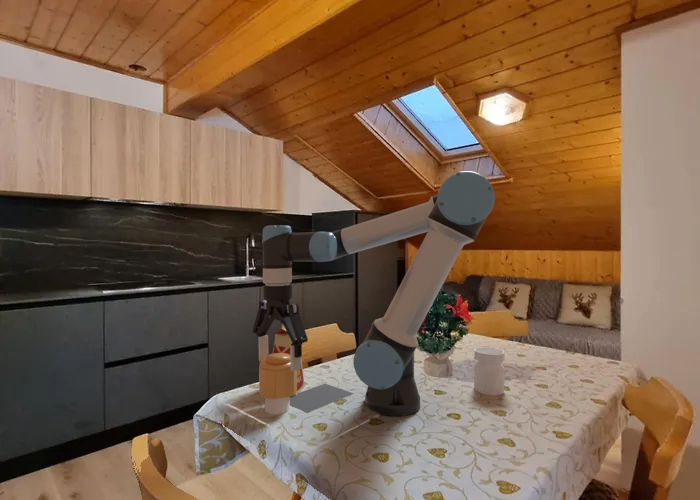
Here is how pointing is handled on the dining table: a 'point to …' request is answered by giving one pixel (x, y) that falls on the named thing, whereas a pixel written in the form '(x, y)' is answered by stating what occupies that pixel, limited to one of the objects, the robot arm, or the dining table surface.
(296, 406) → the mat
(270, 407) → the can
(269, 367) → the wooden octagonal canister
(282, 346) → the milk carton
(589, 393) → the dining table surface
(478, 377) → the pill bottle
